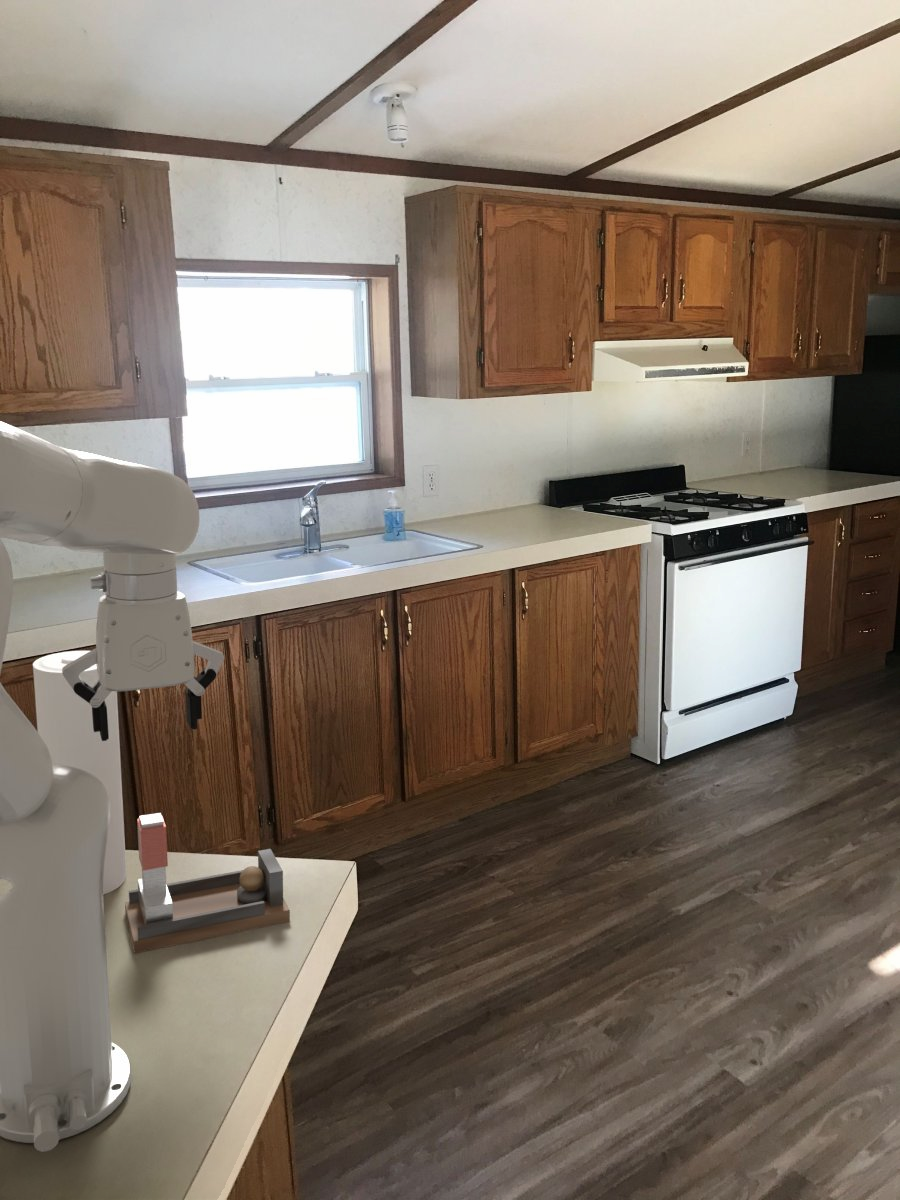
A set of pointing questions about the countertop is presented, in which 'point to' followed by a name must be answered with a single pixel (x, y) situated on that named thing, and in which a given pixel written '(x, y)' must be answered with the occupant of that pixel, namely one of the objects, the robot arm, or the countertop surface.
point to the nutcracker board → (214, 906)
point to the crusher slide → (153, 869)
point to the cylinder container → (83, 745)
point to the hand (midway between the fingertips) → (148, 730)
